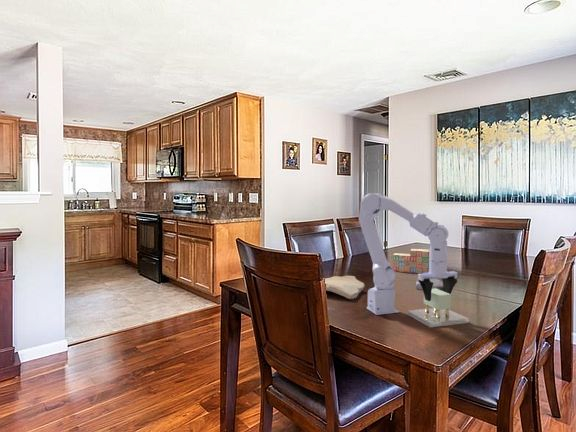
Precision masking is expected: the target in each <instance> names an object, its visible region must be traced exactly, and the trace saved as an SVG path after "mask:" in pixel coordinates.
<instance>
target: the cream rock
mask: <svg viewBox="0 0 576 432" xmlns="http://www.w3.org/2000/svg"><path fill="white" fill-rule="evenodd" d="M324 279H325V284H326V292H332V293H334V294H337V295H340V296H342V297H344V298H346V299H347V300H348V299H349V300H355V299H356V298H357V297H358V296H359V294H360V293H361V292H362V290H364V289H365V287H366V285H365V283H364V282H362V281H360V280H358V279H357V278H356V276H354V275H343V276H338V275H337V276H331V277H328V278H327V277H326V278H324ZM354 298H355V299H354Z"/></svg>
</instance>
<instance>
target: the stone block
mask: <svg viewBox="0 0 576 432" xmlns="http://www.w3.org/2000/svg"><path fill="white" fill-rule="evenodd" d="M430 282H433V286H432V289H435V288H436V289H439V290H443V281H442V280H441V279H430ZM415 289H416V290H420V291H423V289H422V287H421V285H420V283H419V280H416V282H415Z"/></svg>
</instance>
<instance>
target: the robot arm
mask: <svg viewBox="0 0 576 432" xmlns="http://www.w3.org/2000/svg"><path fill="white" fill-rule="evenodd" d="M380 211H390V212H392V213H394V214H395V215H397V216H399V217H400V218H403V219H404V220H406V221H408V223H409V227H410V228H412V229H413V230H415V231H417V232H418V233H420V234H422V235H423V236H424V237H428V240H429V242H430V243H429V250H430V253H429V272H427V273H417V281H419V283H420V285H421V287H422V289H423V290H422V291H423V297H424V296H425V300H427V301H431V291H432V286H433V282H430V279H438V280H441V281H442V282H443V285H442V289H443V291H444V292H446V293H449V294H451V295H452V292H453V289H454V288H455V285H456V284H457V283H458V279H457V278H458V272H457V271H454V270H453V271H450V270H449V271H448V240H447V239H448V237H449V230H448V229H447V227H445V225H442V224H439V222H437V221H433V220H432V219H430V218H429V217H427V214H425V213H424V212H423V213H420V212H417V213H413V212H412V211H410V210H409V209H407V208H406V207H404V206H403V205H402V204H400V203H399V202H397V201H395V200H393V199H392V198H391V197H389V196H386V195H383V194H382V193H381V192H376V193H372V192H369V193H367V194H365V195H364V196H363V198H362V199H361V201H360V209H359V214H358V222H359V225H360V228H361V232H362V234H363V237H364V241H365V243H366V246H367V250H368V253H369V255H370V260H371V262H372V275H373V277H372V282H373V284H374V287H372V288H369V289H368V290H367V306H366V309H367V310H368V311H370V312H371V313H373V314H375V315H377V316H378V315H380V316H381V315H389V314H390V315H391V314H395V313H396V314H399V313H400V311H399V310H398V309H396V308H395V300H396V299H395V297H396V296H395V294H396V292H395V291H396V286H395V283H394V282H395V281H396V279H397V273H396V271H394V270H393V267H392V266H391V264H390V262H389V261H388V259H387V258H386V253H385V251H384V248H383V244H382V243H381V238H380V236H379V232H378V230H377V226H376V223H375V221H374V220H375V218H376V216H377V214H378V213H379V212H380Z"/></svg>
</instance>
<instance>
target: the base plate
mask: <svg viewBox="0 0 576 432" xmlns="http://www.w3.org/2000/svg"><path fill="white" fill-rule="evenodd" d="M406 315H407V316H409V317H411V318H412V319H415V320H416V321H418V322H419V323H421V324H423V325H425V326H427V327H428V328H436V327H437V328H439V327H444V326H446V327H447V326H454V325H460V324H461V325H462V324H469V320H470V319H469V317H466V316H464V315H462V314H459V313H457V312H456V311H453V310H451V309H444V310H437V309H435V308H433V307H430V306H428V305H426V304H425V308H422V309H421V308H420V309H413V310H412V309H411V310H410V309H409V310H407V314H406Z"/></svg>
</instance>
